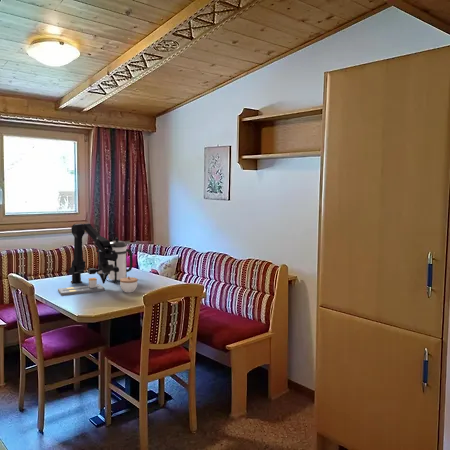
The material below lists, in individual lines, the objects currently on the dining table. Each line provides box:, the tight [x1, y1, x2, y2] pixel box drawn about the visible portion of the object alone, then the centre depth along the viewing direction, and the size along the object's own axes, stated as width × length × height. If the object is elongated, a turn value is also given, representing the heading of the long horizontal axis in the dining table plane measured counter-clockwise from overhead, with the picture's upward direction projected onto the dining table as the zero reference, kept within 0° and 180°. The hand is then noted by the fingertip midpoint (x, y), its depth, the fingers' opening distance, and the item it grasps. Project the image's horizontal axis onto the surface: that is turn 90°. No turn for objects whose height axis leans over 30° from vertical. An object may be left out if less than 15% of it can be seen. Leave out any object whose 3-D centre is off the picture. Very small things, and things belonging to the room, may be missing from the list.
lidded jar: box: [119, 276, 139, 293], centre depth 285 cm, size 11×11×9 cm
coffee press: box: [106, 237, 134, 284], centre depth 313 cm, size 17×16×30 cm
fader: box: [88, 277, 98, 288], centre depth 288 cm, size 4×4×5 cm
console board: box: [57, 283, 106, 296], centre depth 285 cm, size 12×26×2 cm, turn 120°
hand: (103, 283), depth 291 cm, fingers closed
